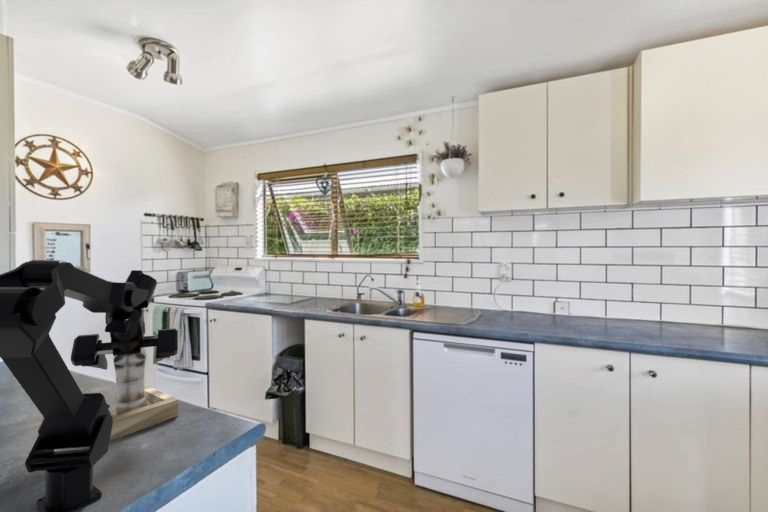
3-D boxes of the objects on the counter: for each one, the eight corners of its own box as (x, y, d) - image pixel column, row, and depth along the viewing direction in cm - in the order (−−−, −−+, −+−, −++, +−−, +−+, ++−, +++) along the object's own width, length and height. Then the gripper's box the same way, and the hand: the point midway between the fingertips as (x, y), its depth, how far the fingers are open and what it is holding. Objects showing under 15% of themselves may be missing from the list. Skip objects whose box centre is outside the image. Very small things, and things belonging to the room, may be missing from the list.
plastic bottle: (149, 410, 88) (149, 329, 88) (143, 423, 82) (143, 335, 82) (117, 415, 86) (117, 331, 86) (108, 428, 80) (108, 337, 79)
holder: (178, 415, 86) (178, 399, 86) (109, 441, 74) (109, 422, 74) (148, 401, 94) (148, 386, 93) (81, 422, 82) (81, 405, 82)
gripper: (178, 294, 84) (177, 331, 94) (75, 297, 75) (85, 339, 85) (178, 335, 78) (176, 371, 87) (64, 344, 68) (77, 383, 78)
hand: (130, 364), depth 84 cm, fingers open, 9 cm apart
